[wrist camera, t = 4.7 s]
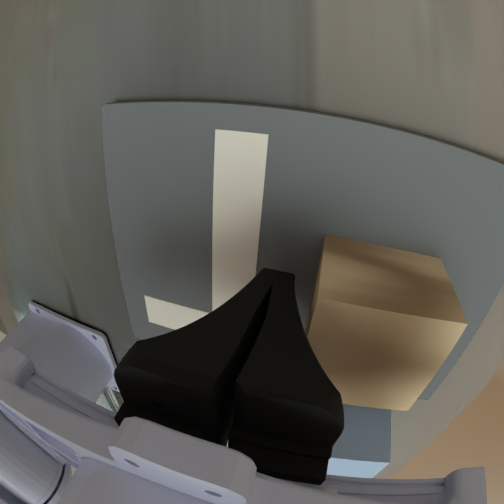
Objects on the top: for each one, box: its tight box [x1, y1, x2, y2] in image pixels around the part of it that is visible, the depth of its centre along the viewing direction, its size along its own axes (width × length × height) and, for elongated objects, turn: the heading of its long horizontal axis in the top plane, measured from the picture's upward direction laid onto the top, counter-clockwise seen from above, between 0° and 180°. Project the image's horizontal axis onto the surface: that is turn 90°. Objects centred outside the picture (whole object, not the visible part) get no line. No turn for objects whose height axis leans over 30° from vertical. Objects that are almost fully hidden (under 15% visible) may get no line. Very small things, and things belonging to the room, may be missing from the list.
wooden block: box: [304, 234, 468, 411], centre depth 11 cm, size 5×5×4 cm
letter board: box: [101, 100, 504, 400], centre depth 14 cm, size 19×14×1 cm
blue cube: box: [327, 404, 391, 478], centre depth 17 cm, size 5×5×5 cm
